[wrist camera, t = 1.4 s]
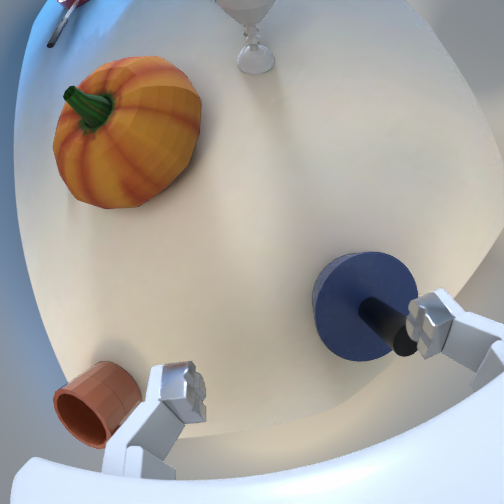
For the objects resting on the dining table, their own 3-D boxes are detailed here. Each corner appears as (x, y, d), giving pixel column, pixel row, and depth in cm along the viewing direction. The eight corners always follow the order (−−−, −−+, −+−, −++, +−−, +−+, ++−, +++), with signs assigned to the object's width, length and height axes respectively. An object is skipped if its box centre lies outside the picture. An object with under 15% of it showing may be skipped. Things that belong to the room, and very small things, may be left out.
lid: (426, 320, 26) (478, 350, 16) (341, 375, 27) (366, 430, 17) (387, 230, 26) (440, 227, 16) (292, 288, 27) (302, 318, 17)
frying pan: (103, 34, 32) (87, 17, 26) (51, 68, 33) (33, 55, 27) (111, -30, 31) (101, -44, 25) (69, -6, 33) (58, -17, 26)
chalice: (230, 83, 31) (198, -16, 13) (226, 47, 31) (199, -47, 13) (286, 76, 31) (290, -27, 13) (278, 41, 30) (276, -56, 12)
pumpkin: (195, 220, 32) (134, 208, 18) (75, 206, 34) (-3, 196, 19) (222, 79, 31) (194, 3, 16) (105, 86, 33) (49, 41, 18)
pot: (153, 405, 34) (124, 444, 24) (114, 418, 35) (84, 451, 25) (116, 352, 34) (76, 381, 24) (81, 371, 35) (43, 396, 25)
